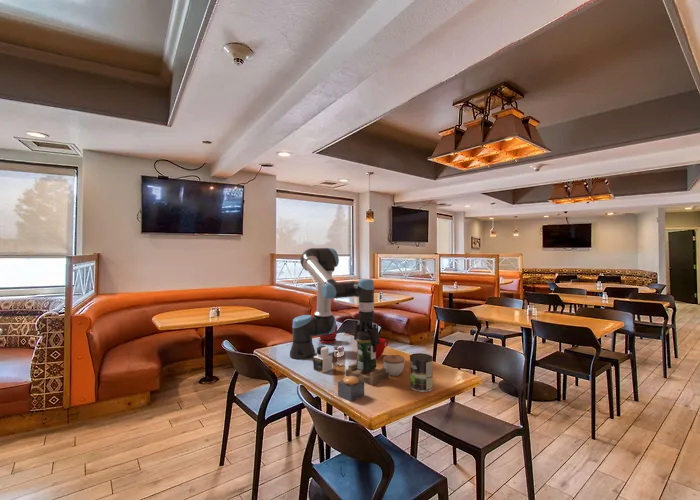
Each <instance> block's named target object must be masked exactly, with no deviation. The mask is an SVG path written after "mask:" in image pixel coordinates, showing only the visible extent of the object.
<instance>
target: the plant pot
mask: <svg viewBox="0 0 700 500" xmlns="http://www.w3.org/2000/svg"><path fill="white" fill-rule="evenodd" d="M337 334H338V325H337V324H336V328H335V330H334V332H333V333H331V334H328V335H320V336H318V337H319V342H320V343H321V344H324V345H330V344H334V343H337V339H336V338H337Z"/></svg>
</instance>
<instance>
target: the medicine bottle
mask: <svg viewBox="0 0 700 500" xmlns="http://www.w3.org/2000/svg"><path fill="white" fill-rule="evenodd" d="M312 358H313V360H312V362H313V371H316V372H319V373H322V374H323V373H326V372H329V371H331V370H333V356H332V355H329V347H328V346H325V345H321V346H318V347H317V348H316V355H315V356H314V357H312Z"/></svg>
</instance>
